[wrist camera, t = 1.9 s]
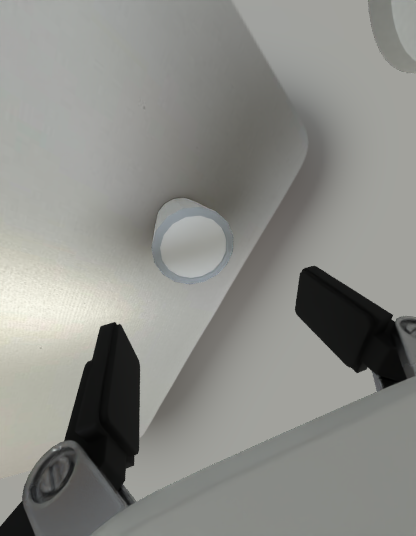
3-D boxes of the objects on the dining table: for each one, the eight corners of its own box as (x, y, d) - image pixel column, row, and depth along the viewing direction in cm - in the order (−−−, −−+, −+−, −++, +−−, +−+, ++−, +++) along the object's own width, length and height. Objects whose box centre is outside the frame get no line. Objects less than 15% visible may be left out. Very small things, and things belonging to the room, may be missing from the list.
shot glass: (135, 220, 21) (131, 246, 15) (186, 176, 20) (204, 186, 14) (177, 262, 24) (188, 297, 18) (222, 227, 24) (247, 252, 18)
